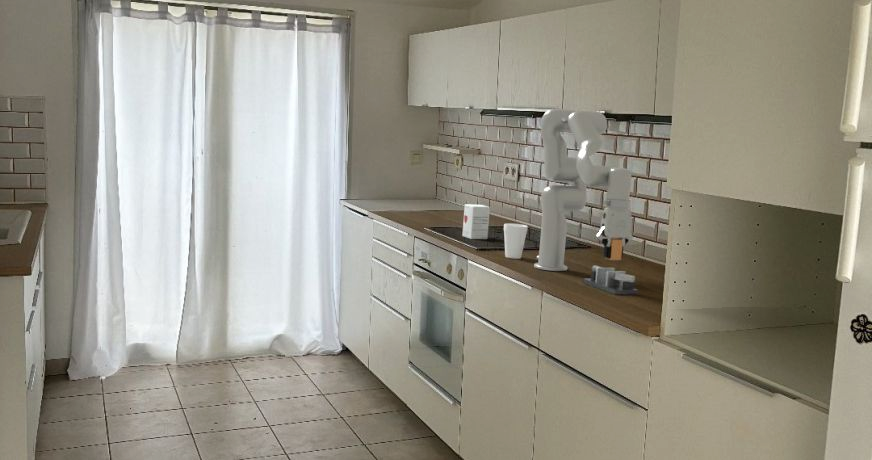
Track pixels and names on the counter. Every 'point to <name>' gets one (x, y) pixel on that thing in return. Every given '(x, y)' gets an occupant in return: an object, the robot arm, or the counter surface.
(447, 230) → the counter surface
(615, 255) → the orange block
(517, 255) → the foam cup
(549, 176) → the robot arm
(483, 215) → the supplement box
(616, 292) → the shaft stand
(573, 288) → the counter surface
